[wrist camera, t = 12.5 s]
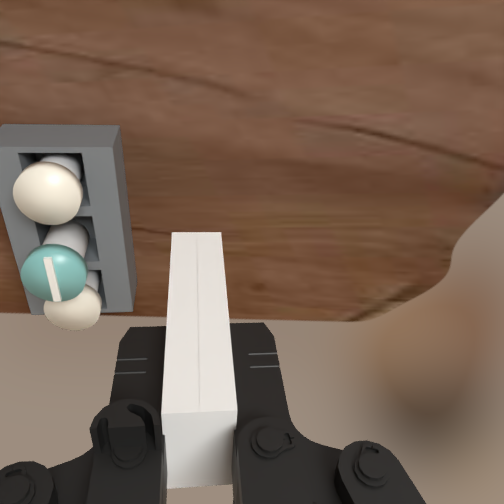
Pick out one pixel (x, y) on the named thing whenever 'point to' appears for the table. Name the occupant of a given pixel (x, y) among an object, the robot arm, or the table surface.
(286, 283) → the table surface
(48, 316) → the knob
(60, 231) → the dial mid
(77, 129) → the grey slotted rack
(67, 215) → the knob
